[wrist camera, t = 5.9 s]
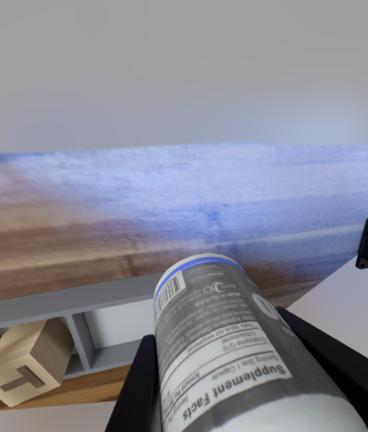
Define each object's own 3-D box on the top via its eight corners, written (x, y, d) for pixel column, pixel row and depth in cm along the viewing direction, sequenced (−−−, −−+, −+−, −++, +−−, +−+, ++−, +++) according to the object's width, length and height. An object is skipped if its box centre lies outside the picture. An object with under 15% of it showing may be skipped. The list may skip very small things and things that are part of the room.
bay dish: (225, 260, 21) (237, 277, 18) (225, 317, 24) (236, 338, 21) (-13, 302, 18) (-40, 330, 15) (18, 362, 20) (0, 394, 18)
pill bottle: (255, 305, 11) (518, 688, 3) (174, 342, 11) (254, 841, 3) (231, 233, 9) (688, 701, 2) (134, 276, 9) (89, 1062, 1)
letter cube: (52, 310, 18) (28, 354, 14) (76, 339, 20) (60, 386, 16) (7, 328, 18) (-29, 378, 14) (35, 356, 19) (9, 408, 16)
